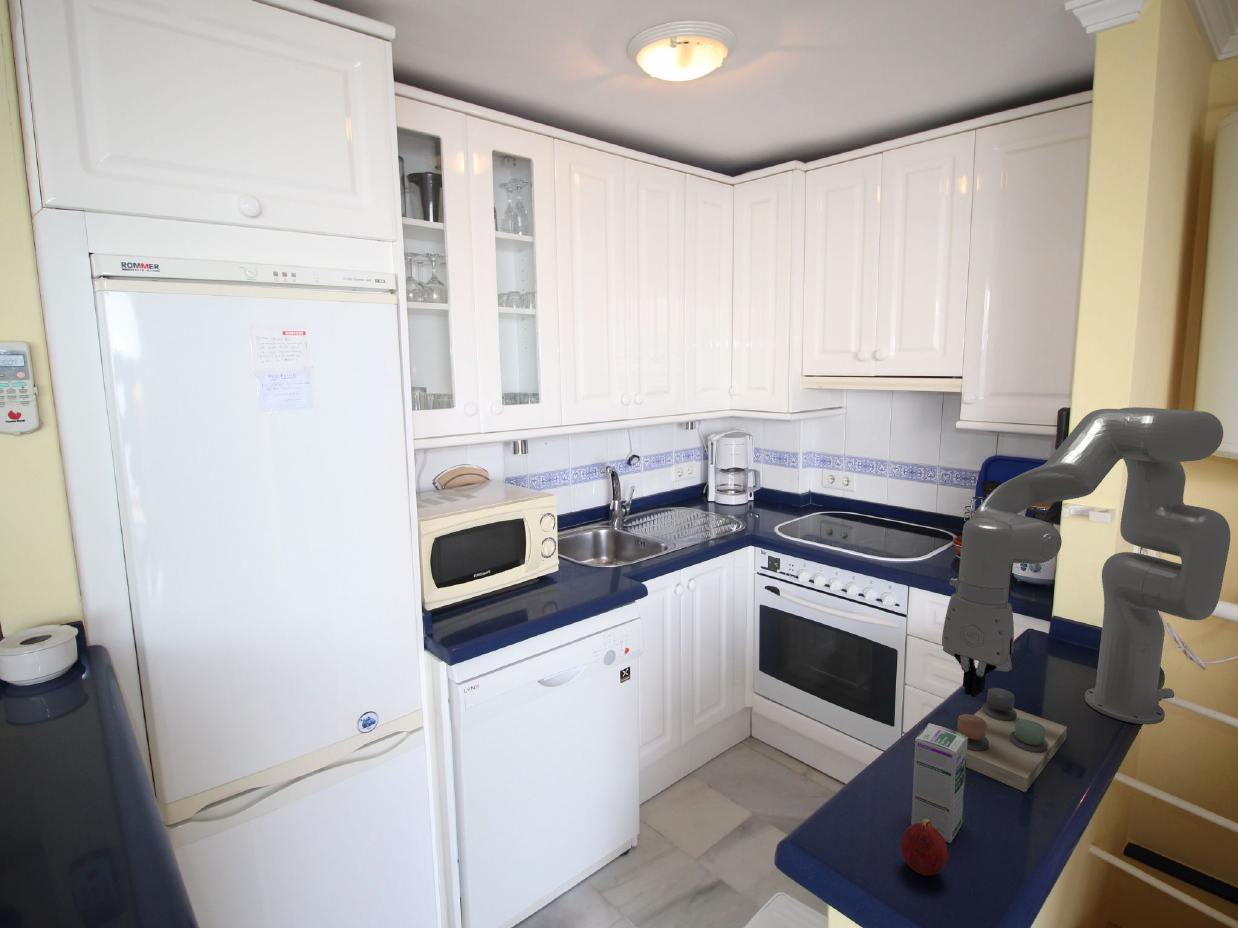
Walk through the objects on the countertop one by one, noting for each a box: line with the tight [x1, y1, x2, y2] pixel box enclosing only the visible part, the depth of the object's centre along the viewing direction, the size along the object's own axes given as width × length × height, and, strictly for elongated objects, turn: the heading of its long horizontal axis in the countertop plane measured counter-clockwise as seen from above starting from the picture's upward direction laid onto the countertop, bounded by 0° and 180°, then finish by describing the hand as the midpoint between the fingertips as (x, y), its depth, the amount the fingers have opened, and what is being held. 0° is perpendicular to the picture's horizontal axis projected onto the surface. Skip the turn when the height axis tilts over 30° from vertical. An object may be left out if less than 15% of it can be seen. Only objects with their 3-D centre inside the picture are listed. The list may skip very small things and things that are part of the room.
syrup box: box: [910, 722, 968, 844], centre depth 97 cm, size 6×6×14 cm
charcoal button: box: [986, 687, 1016, 711], centre depth 123 cm, size 4×4×2 cm
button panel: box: [955, 702, 1068, 793], centre depth 117 cm, size 22×13×3 cm, turn 132°
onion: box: [900, 819, 949, 876], centre depth 88 cm, size 6×6×8 cm
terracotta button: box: [956, 713, 987, 740], centre depth 114 cm, size 4×4×2 cm
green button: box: [1014, 719, 1045, 745], centre depth 114 cm, size 4×4×2 cm
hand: (972, 692), depth 113 cm, fingers closed
